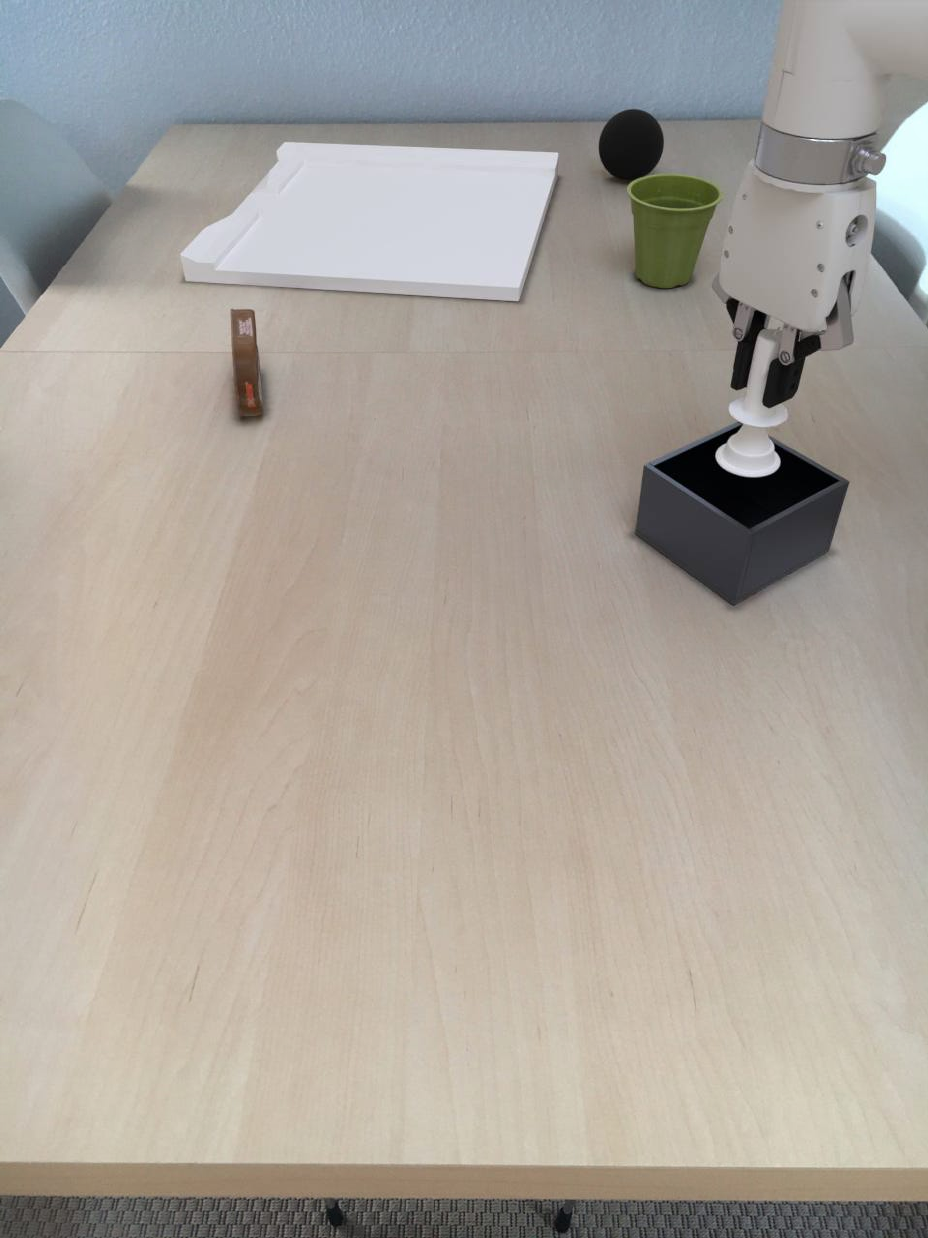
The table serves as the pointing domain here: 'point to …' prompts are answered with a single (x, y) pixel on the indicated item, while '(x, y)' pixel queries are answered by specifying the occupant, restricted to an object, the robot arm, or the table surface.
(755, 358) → the candle
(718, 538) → the bin
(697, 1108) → the table surface
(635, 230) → the plant pot
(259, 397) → the brown thin box
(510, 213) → the tray
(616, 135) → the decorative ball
